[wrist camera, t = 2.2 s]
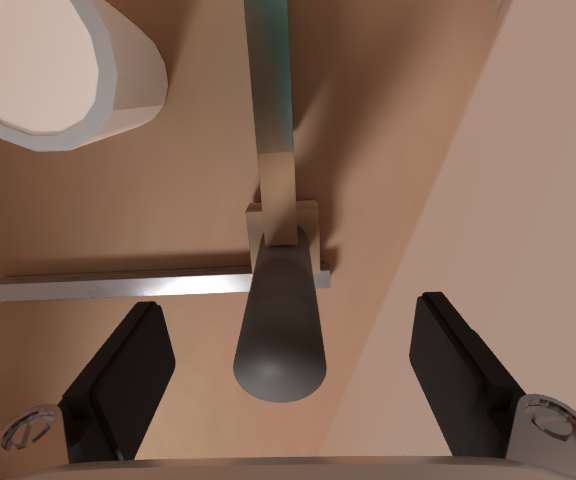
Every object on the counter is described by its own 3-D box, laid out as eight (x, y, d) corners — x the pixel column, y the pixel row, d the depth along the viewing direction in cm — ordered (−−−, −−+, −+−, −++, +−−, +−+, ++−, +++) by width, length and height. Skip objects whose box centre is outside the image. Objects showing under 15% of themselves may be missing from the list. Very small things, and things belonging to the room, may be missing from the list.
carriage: (317, 259, 22) (346, 414, 11) (255, 262, 22) (221, 418, 11) (313, -18, 16) (373, -335, 4) (227, -12, 16) (77, -309, 5)
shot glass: (199, 54, 17) (144, 21, 11) (151, 160, 19) (82, 185, 13) (78, -29, 16) (-70, -127, 9) (42, 96, 18) (-97, 87, 11)
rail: (328, 279, 23) (330, 287, 22) (12, 292, 23) (-2, 301, 22) (328, 262, 22) (330, 270, 21) (4, 276, 23) (-10, 285, 22)
